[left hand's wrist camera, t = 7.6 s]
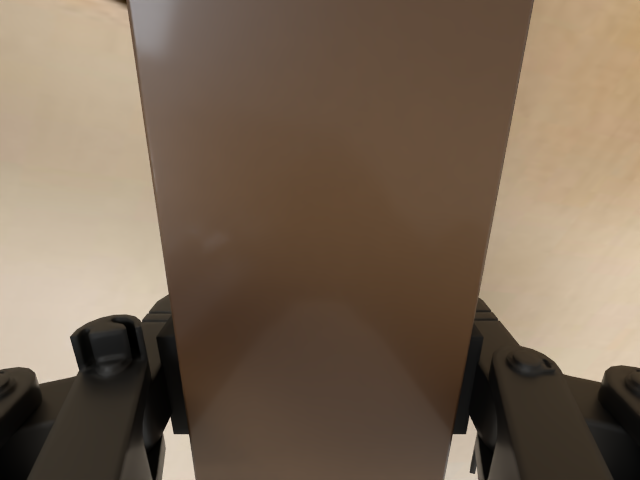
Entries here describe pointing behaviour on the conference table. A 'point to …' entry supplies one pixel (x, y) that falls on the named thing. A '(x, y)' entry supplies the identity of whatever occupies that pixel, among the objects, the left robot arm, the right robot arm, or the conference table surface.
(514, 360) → the left robot arm
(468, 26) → the beam
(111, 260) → the conference table surface
